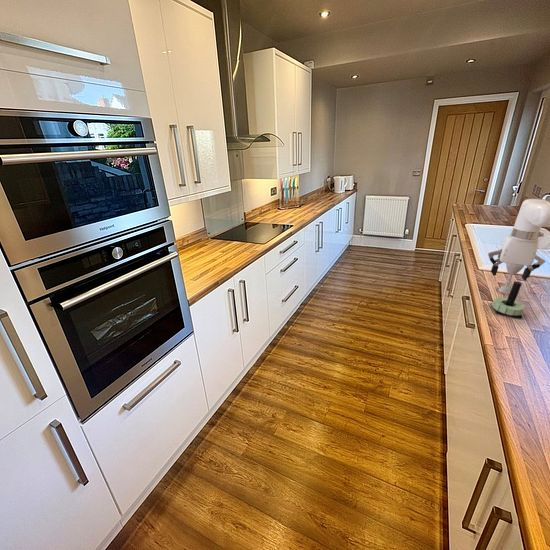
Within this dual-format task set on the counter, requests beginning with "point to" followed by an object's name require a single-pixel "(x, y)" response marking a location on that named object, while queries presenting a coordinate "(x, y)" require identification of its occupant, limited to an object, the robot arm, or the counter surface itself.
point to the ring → (501, 307)
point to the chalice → (510, 276)
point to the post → (512, 298)
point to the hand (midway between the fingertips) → (508, 276)
